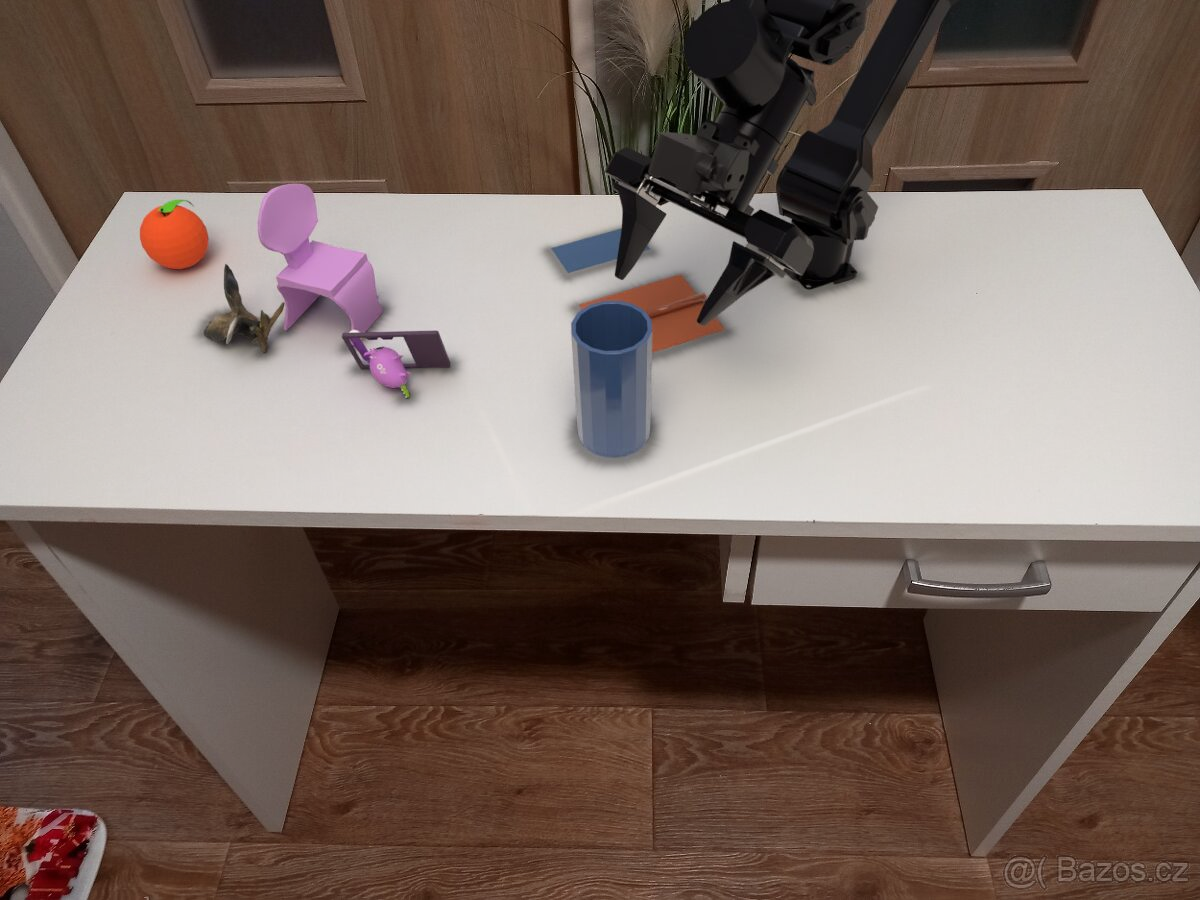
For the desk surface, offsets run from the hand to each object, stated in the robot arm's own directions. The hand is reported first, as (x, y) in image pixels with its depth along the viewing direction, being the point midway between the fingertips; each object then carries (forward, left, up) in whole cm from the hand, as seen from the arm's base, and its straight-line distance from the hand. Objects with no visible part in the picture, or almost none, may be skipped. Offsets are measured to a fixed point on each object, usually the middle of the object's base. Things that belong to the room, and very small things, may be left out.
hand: (658, 300), depth 77 cm
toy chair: (+25, -25, -12) cm, 37 cm away
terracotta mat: (-5, -11, -12) cm, 17 cm away
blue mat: (-5, -24, -12) cm, 27 cm away
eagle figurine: (+34, -27, -12) cm, 45 cm away
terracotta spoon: (-6, -11, -12) cm, 17 cm away
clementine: (+38, -43, -12) cm, 59 cm away
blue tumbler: (+5, +2, -12) cm, 13 cm away
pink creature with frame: (+21, -13, -12) cm, 28 cm away
